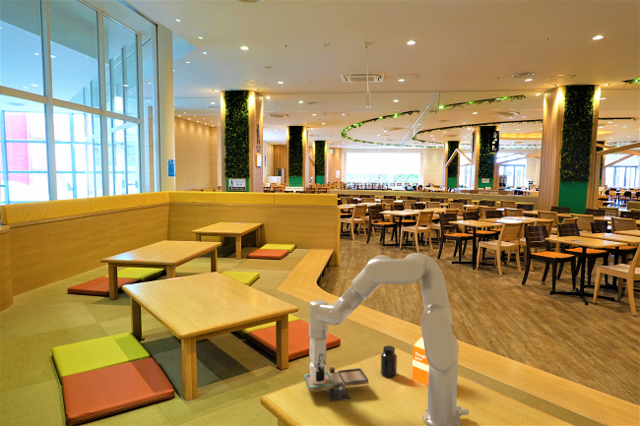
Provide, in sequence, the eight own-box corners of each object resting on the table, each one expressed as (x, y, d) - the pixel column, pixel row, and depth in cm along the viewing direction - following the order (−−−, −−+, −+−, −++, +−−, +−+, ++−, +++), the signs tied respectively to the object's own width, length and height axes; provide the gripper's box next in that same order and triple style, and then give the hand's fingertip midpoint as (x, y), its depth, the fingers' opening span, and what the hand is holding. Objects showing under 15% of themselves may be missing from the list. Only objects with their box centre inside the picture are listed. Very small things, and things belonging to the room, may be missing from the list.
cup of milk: (328, 377, 154) (328, 360, 154) (325, 385, 148) (324, 368, 147) (311, 375, 156) (311, 358, 155) (307, 384, 149) (307, 366, 149)
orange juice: (412, 378, 163) (413, 333, 162) (423, 372, 169) (424, 328, 168) (428, 386, 158) (429, 338, 156) (439, 378, 164) (440, 333, 162)
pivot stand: (340, 380, 162) (340, 365, 161) (350, 399, 147) (351, 383, 147) (321, 382, 160) (321, 367, 160) (330, 401, 146) (330, 385, 145)
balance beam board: (360, 371, 161) (360, 367, 161) (368, 383, 151) (368, 379, 151) (304, 378, 156) (304, 374, 156) (308, 391, 146) (308, 387, 146)
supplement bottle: (378, 371, 170) (378, 345, 169) (391, 369, 172) (392, 343, 171) (385, 379, 163) (385, 351, 162) (399, 377, 165) (400, 349, 164)
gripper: (305, 325, 158) (304, 366, 159) (313, 341, 141) (313, 388, 142) (322, 323, 160) (322, 365, 161) (333, 340, 143) (332, 386, 144)
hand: (318, 375), depth 152 cm, fingers closed on cup of milk, 6 cm apart
